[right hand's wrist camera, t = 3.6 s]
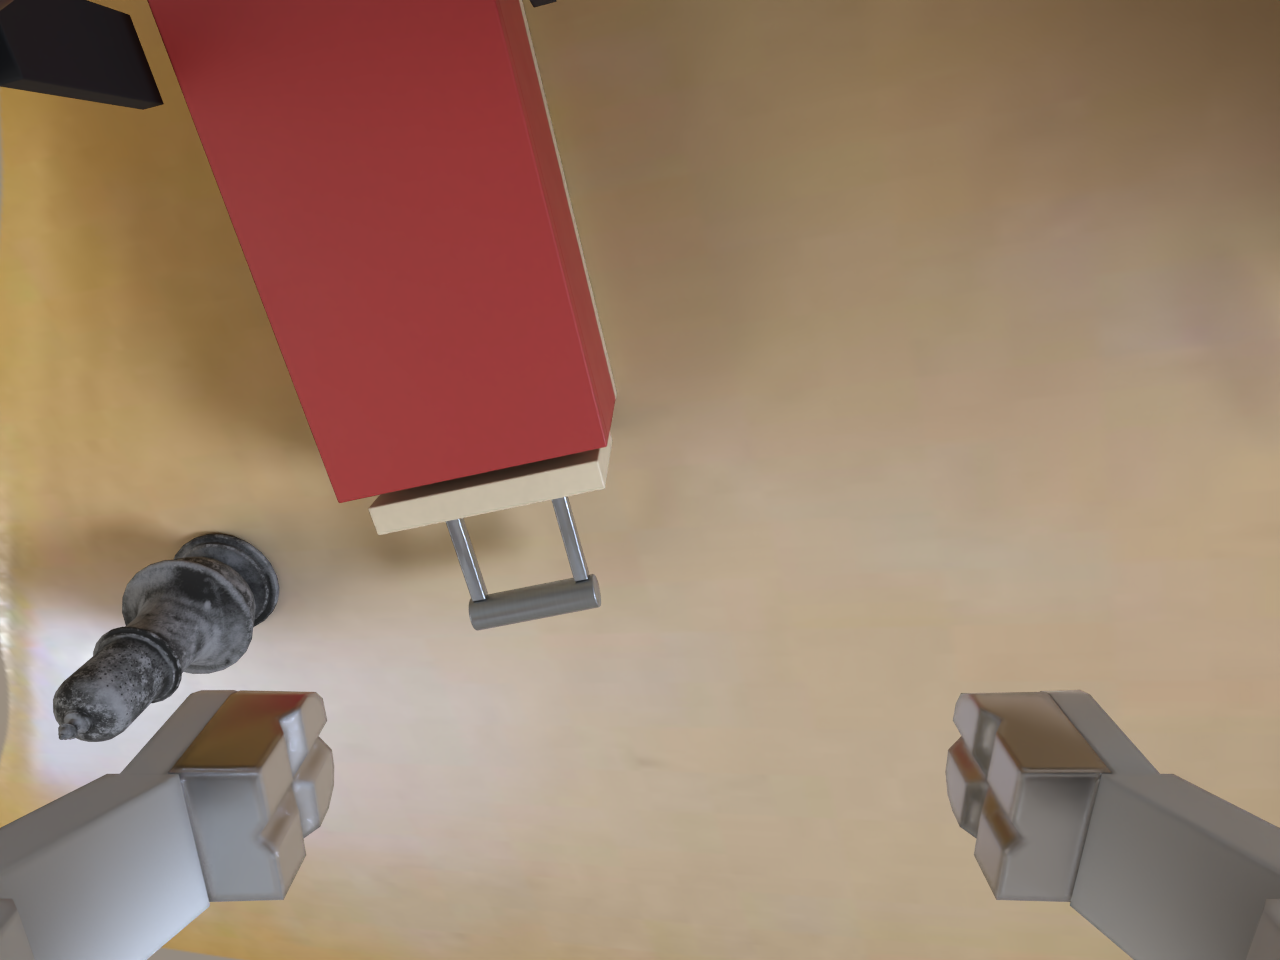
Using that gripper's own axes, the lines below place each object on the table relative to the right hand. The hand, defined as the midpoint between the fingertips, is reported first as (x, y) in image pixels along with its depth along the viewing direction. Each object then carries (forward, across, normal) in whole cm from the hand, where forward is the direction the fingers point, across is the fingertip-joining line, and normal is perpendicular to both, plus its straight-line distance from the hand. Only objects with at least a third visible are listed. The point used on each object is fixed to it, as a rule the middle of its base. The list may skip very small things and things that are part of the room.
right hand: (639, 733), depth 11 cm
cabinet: (+27, +8, -6) cm, 29 cm away
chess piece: (+28, +21, +12) cm, 37 cm away
